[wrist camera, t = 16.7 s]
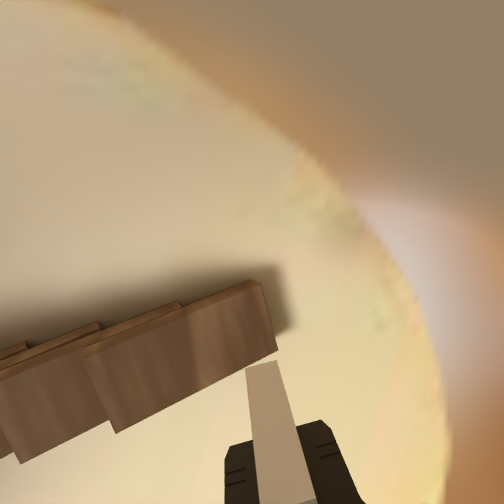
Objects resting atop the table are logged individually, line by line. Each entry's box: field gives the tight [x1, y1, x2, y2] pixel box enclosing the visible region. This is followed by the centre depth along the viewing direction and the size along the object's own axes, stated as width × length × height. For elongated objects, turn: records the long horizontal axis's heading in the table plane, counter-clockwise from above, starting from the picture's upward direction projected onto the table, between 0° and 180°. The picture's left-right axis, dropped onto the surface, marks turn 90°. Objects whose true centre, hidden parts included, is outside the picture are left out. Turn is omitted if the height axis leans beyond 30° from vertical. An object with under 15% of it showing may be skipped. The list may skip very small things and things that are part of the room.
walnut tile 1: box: [82, 279, 278, 434], centre depth 20 cm, size 2×5×11 cm
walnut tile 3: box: [0, 321, 101, 459], centre depth 20 cm, size 2×5×11 cm
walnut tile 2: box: [0, 301, 182, 465], centre depth 20 cm, size 2×5×11 cm
